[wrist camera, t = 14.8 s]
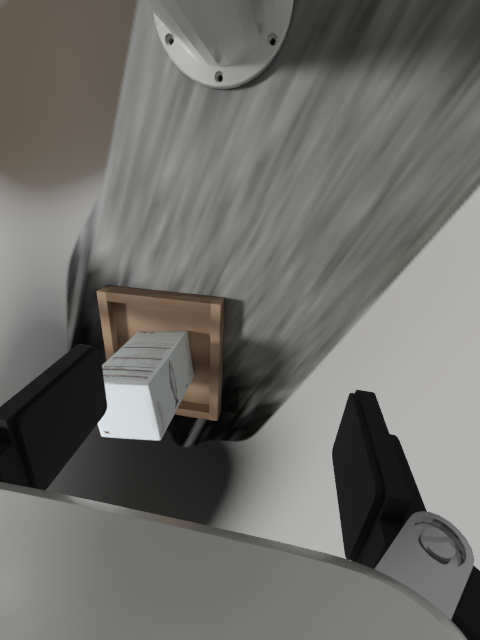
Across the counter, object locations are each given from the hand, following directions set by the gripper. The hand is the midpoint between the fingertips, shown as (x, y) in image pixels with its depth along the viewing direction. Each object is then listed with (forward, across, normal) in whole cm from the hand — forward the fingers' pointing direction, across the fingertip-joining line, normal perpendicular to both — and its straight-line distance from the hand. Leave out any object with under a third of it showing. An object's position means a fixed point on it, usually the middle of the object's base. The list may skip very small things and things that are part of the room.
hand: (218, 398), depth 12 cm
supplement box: (+27, +12, +16) cm, 34 cm away
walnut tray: (+27, +12, +17) cm, 34 cm away
